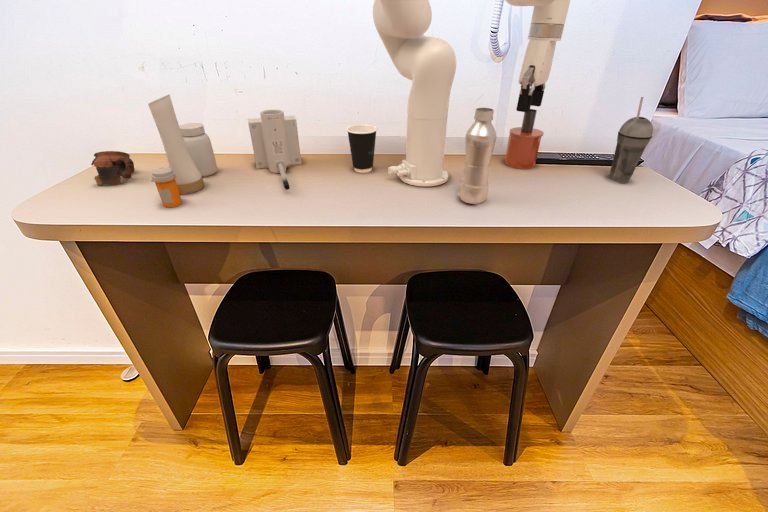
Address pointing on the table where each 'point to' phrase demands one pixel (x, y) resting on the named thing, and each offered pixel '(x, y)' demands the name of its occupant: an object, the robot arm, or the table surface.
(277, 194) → the table surface
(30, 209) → the table surface
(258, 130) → the electronic device
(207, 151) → the toiletry set
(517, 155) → the storage jar
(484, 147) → the metal water bottle
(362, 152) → the dixie cup
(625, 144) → the beverage cup
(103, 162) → the pottery mug
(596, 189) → the table surface
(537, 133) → the jar lid
